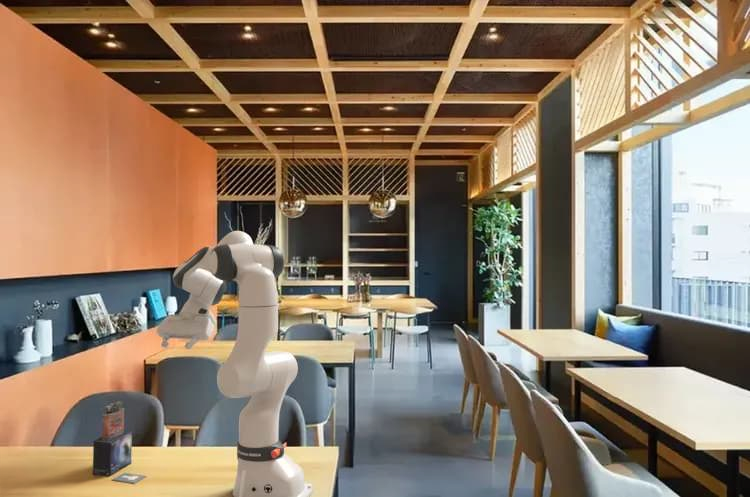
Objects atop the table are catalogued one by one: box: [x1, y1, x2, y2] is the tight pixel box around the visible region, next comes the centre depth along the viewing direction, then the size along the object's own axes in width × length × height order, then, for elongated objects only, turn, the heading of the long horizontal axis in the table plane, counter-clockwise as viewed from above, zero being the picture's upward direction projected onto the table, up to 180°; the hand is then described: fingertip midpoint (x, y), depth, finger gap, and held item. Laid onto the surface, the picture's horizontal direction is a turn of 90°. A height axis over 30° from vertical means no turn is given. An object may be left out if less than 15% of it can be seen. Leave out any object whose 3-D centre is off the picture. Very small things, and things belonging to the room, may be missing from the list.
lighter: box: [101, 400, 125, 440], centre depth 169 cm, size 8×3×10 cm, turn 164°
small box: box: [92, 430, 133, 477], centre depth 168 cm, size 11×6×10 cm, turn 169°
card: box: [111, 472, 147, 484], centre depth 161 cm, size 8×5×1 cm, turn 74°
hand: (175, 347), depth 184 cm, fingers open, 8 cm apart
